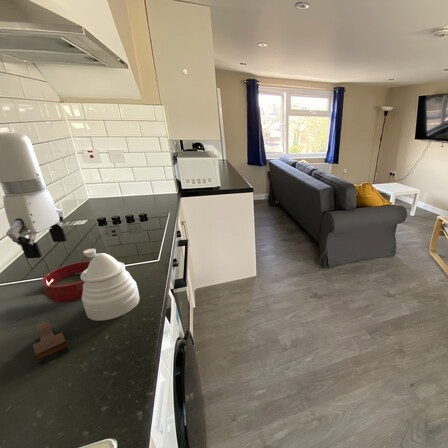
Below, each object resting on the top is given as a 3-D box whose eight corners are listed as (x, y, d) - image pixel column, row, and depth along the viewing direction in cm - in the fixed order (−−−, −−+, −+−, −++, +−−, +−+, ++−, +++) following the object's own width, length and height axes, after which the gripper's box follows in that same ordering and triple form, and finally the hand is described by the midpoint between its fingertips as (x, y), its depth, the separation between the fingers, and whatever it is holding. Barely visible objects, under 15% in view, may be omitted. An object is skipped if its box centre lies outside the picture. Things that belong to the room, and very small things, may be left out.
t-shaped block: (32, 339, 63) (28, 329, 62) (59, 328, 67) (55, 318, 66) (40, 365, 57) (35, 354, 56) (69, 351, 60) (65, 340, 59)
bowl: (34, 305, 75) (27, 289, 73) (66, 277, 89) (61, 262, 87) (94, 299, 78) (89, 283, 76) (116, 272, 92) (112, 258, 90)
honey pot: (80, 326, 68) (59, 265, 61) (92, 298, 78) (75, 244, 72) (138, 312, 73) (123, 255, 66) (141, 287, 84) (129, 236, 77)
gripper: (34, 179, 71) (54, 236, 78) (-28, 196, 56) (4, 266, 62) (65, 179, 73) (82, 235, 79) (13, 194, 57) (40, 263, 63)
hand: (48, 248), depth 70 cm, fingers open, 9 cm apart
